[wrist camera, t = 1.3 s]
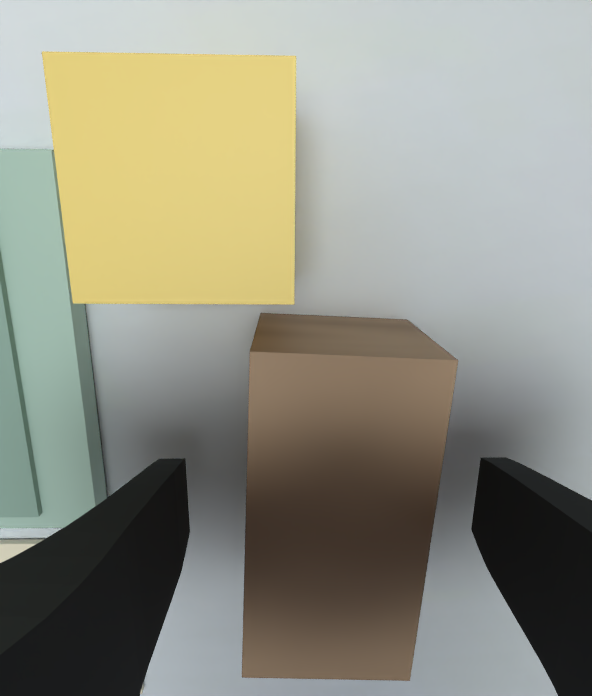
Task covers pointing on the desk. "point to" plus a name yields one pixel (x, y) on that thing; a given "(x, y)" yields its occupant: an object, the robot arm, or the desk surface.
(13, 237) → the baseplate
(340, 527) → the walnut brick
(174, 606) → the desk surface
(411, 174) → the desk surface
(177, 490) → the robot arm
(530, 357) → the desk surface
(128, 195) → the ochre cube
